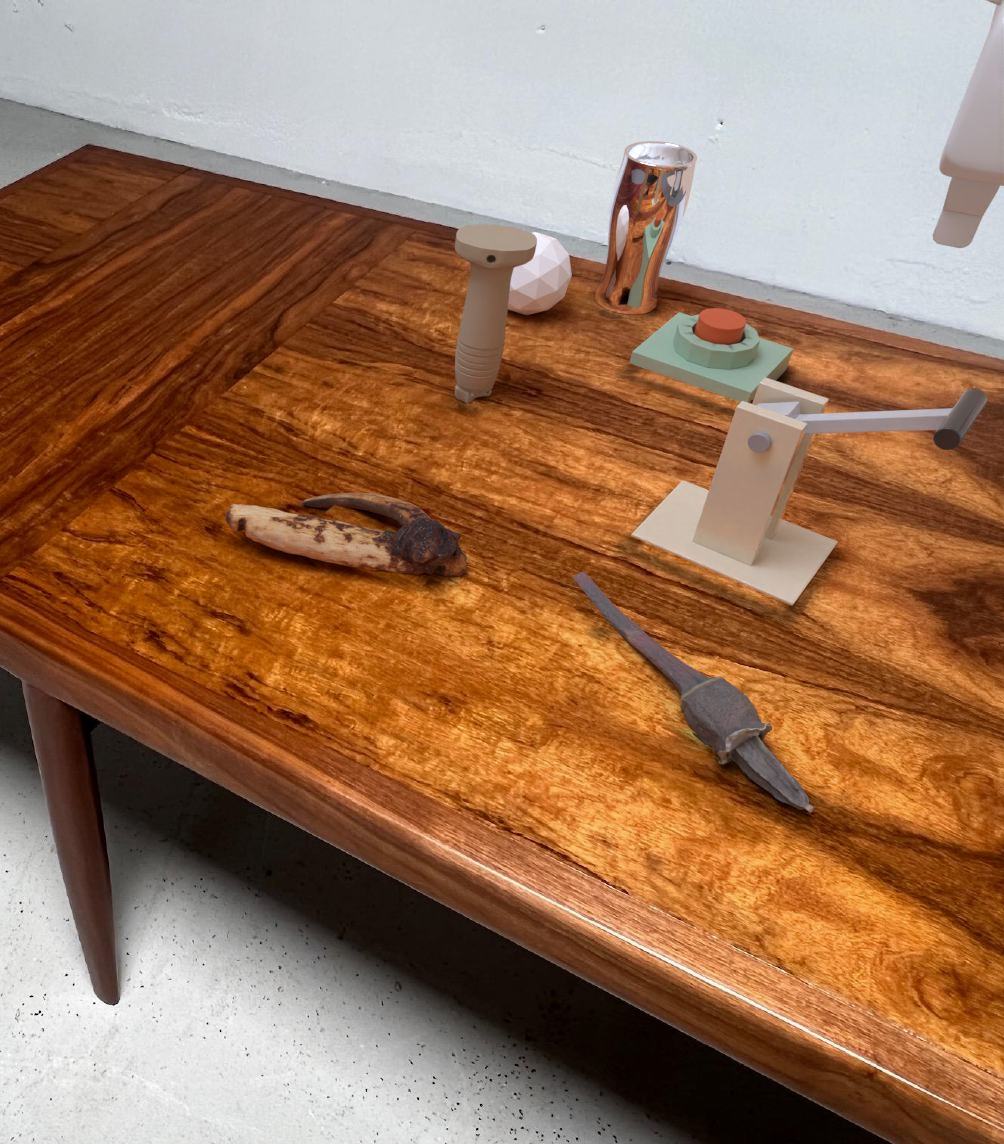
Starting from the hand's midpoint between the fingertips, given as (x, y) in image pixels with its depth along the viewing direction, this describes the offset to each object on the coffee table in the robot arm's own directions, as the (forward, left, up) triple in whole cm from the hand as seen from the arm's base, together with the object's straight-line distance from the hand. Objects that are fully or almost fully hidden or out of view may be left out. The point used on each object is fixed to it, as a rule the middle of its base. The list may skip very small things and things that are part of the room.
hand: (962, 209), depth 61 cm
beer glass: (+30, -34, -29) cm, 54 cm away
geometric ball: (+37, -26, -29) cm, 54 cm away
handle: (+32, -8, -29) cm, 44 cm away
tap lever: (+1, -2, -16) cm, 17 cm away
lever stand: (+6, -2, -28) cm, 29 cm away
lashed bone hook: (+28, +16, -29) cm, 43 cm away
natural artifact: (+3, +14, -29) cm, 32 cm away
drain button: (+18, -26, -25) cm, 40 cm away
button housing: (+18, -26, -28) cm, 43 cm away
